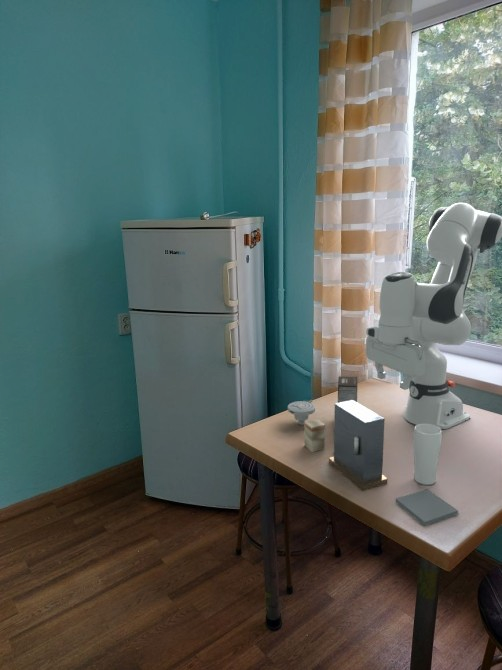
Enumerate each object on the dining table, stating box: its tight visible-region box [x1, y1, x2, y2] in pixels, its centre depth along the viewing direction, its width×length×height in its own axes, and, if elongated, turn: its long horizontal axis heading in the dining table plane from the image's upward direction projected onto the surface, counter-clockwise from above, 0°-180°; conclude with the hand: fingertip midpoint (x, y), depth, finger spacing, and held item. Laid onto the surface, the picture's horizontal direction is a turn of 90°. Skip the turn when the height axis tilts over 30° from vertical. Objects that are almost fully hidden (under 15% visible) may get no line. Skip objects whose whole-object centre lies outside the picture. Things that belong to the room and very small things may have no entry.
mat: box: [395, 488, 459, 526], centre depth 111 cm, size 10×10×1 cm
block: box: [303, 418, 326, 453], centre depth 142 cm, size 5×5×8 cm
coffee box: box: [337, 376, 358, 403], centre depth 156 cm, size 9×6×16 cm
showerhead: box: [287, 399, 316, 426], centre depth 159 cm, size 9×7×10 cm
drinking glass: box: [413, 424, 443, 486], centre depth 121 cm, size 7×7×15 cm
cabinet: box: [328, 400, 388, 492], centre depth 125 cm, size 8×16×18 cm, turn 23°
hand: (392, 383), depth 126 cm, fingers open, 8 cm apart
